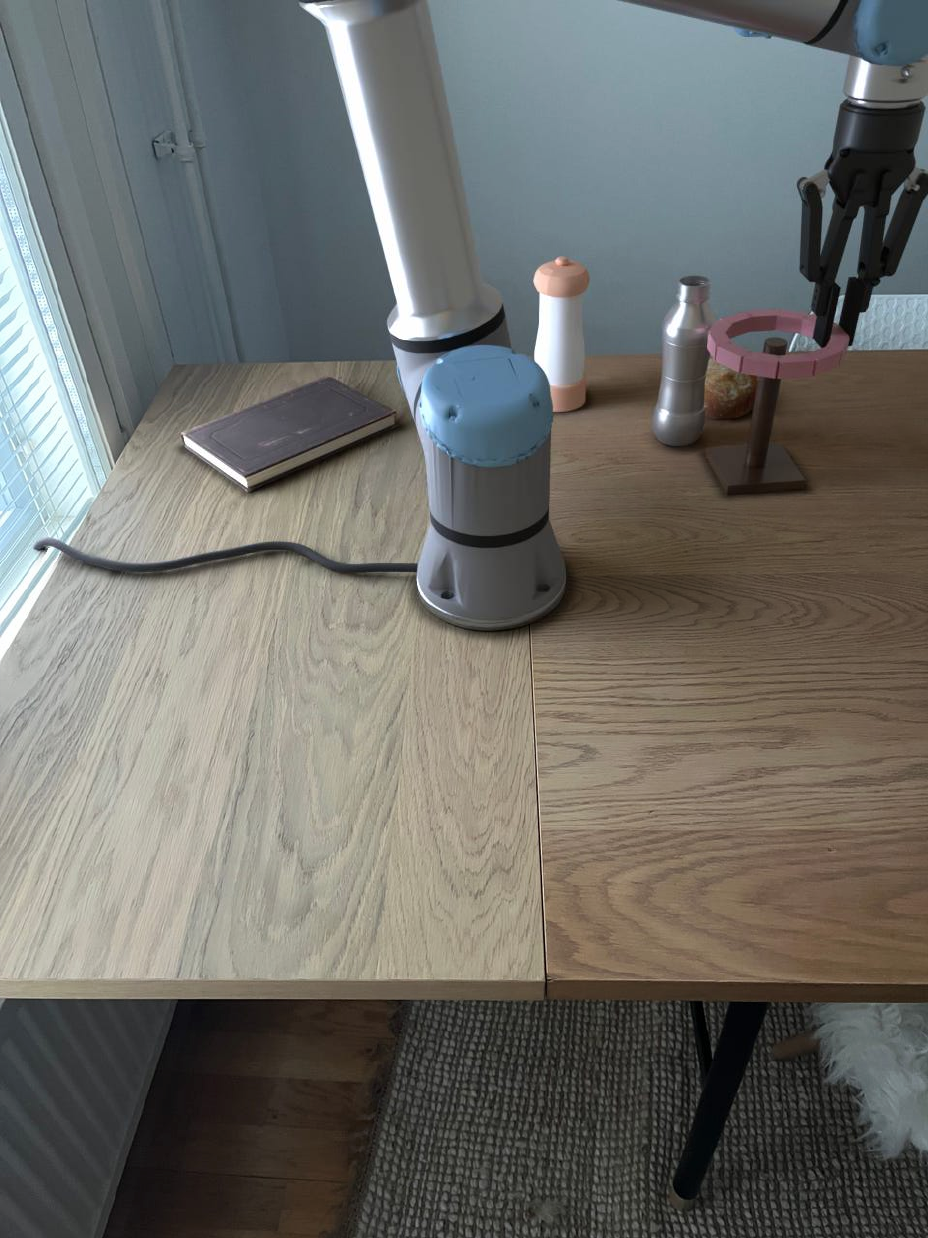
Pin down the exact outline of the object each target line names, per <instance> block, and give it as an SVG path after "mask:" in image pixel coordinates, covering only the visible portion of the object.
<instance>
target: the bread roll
mask: <svg viewBox="0 0 928 1238" xmlns="http://www.w3.org/2000/svg"><path fill="white" fill-rule="evenodd" d="M706 372H707V374H706V379H705V395H704V406H705V418H707V419H711V420H732V419H739V418H740V417H742V416H744V415H746V414H747V413H749V412H750V411H753V408H754V402H755V396H756V390H757V384H758V376H755V375H748V374H742V372H736V371H734V370H732V369H730V368H728V367H726V366H723V365H721V364H719V363H717V362H716V361H714V359H713V358H712V357H710V358H709V363H708V369H707V371H706Z"/></svg>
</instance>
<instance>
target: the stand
mask: <svg viewBox="0 0 928 1238" xmlns="http://www.w3.org/2000/svg"><path fill="white" fill-rule="evenodd" d="M788 344H789V343H788V340H786V339H785V338H782V337H777V336H773V337H768V338H766V339H765V340H764V343H763V349H762V353H765V354H772V355H787V348H788ZM757 380H758V384H757V390H756V396H755V402H754V407H753V409H752V414H751V420H750V426H749V432H748V439H747V444H734V445H721V446H720V445H719V446H707V447H706V451H705V457H706V459H707V461H708V462H709V464H710V466H711V468H712V470H713V472H714V474H715V476H716V477H717V479H718V481H719V484H720V485H721V486H722V488H723V490H724V492H725V494H726V495H727V496H728V495H741V494H753V493H755V494H756V493H767V492H779V491H780V492H783V491H794V490H795V491H796V490H805V489H804V488H805V484H806V479H805V477H804V475H803V474H802V472H801V471H800V470H799V469H798V467H797V465H796V464H795V462H794V461H793V459H792V458H791V457H790V455H789V453H788V452H787V451H786V449H785V447H784V446H783V445H782V444H781V442H780V441H776V442H775V441H774V442H771V441H770V440H771V436H772V431H773V425H774V419H775V414H776V409H777V403H778V397H779V392H780V387H781V381H782V379H778V378H777V377H776V378H775V379H773V378H767V377H761V376H758V377H757Z"/></svg>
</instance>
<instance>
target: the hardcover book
mask: <svg viewBox="0 0 928 1238" xmlns="http://www.w3.org/2000/svg"><path fill="white" fill-rule="evenodd" d="M395 415H397V410H395V409H393V408H391V407H390V406H387V405H385V404H383V403H381V402H379V401H378V400H376V399H374V398H373V397H370V396H368V395H366V394H365V393H364V392H361V391H359V390H356V389H355V388H353V387H351V386H349V385H347V384H345V383H344V382H341V381H340V380H338V379H336V378H334V377H332V376H330V375H325V376H323V377H320V378H318V379H316V380H313V381H310V382H307V383H304V384H303V385H300V386H297V387H294V388H292V389H290V390H287V391H284V392H282V393H279V394H277V395H275V396H272V397H269V398H267V399H264V400H261V401H259V402H256V403H253V404H252V405H248V406H246V407H243V408H240V409H238V410H236V411H233V412H230V413H227V414H225V415H223V416H220V417H218V418H214V419H213V420H210V421H208V422H205V423H202V424H199V425H197V426H194V427H192V428H190V429H187V430H184V431H181V433H180V439H181V442H182V445H183V446H184V448H186V450H188V451H189V452H190V453H192V454H193V455H194V456H196V457H198V458H199V459H201V461H203V462H204V463H206V464H207V465H209V466H210V467H212V468H213V469H215V471H217V472H219V473H220V474H221V475H223V476H224V477H226V478H227V479H228V480H230V481H231V482H233V483H234V484H235V485H236V486H238V487H239V488H241V489H242V490H244V491H245V492H247V493H250V492H252V491H255V490H257V489H259V488H261V487H264V486H266V485H267V484H270V483H273V482H275V481H277V480H280V479H282V478H284V477H287V476H289V475H291V474H293V473H295V472H297V471H300V470H302V469H305V468H307V467H309V466H311V465H313V464H316V463H318V462H321V461H323V460H325V459H327V458H329V457H332V456H335V455H337V454H338V453H340V452H343V451H345V450H348V449H350V448H353V447H354V446H357V445H359V444H361V443H364V442H365V441H368V440H370V439H373V438H375V437H377V436H379V435H382V434H384V433H386V432H388V431H391V430H393V429H395V428H398V427H399V424H397V423H395V419H396V417H394V416H395Z"/></svg>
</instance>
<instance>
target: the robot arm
mask: <svg viewBox="0 0 928 1238" xmlns="http://www.w3.org/2000/svg"><path fill="white" fill-rule="evenodd" d="M297 1H298V4H299V6H300V7H301V8H302V9H303V10H305V11H306V12H308V13H309V14H310V15H312V16H313V17H314V18H316V19H317V20H319V21H320V22H321V23H322V25H323V26H324V28H325V33H326V36H327V40H328V44H329V47H330V51H331V52H330V53H331V55H332V59H333V63H334V66H335V71H336V74H337V78H338V81H339V86H340V89H341V93H342V97H343V102H344V105H345V109H346V113H347V117H348V121H349V124H350V127H351V131H352V136H353V139H354V143H355V146H356V147H355V148H356V151H357V155H358V159H359V162H360V166H361V171H362V174H363V178H364V182H365V185H366V190H367V193H368V197H369V200H370V204H371V208H372V213H373V216H374V220H375V224H376V228H377V231H378V235H379V240H380V242H381V247H382V250H383V254H384V258H385V262H386V266H387V270H388V273H389V277H390V282H391V284H392V285H391V286H392V289H393V293H394V296H395V300H396V303H395V305H394V306H393V308H392V310H391V311H390V313H389V315H388V317H387V320H386V326H387V330H388V333H389V337H390V341H391V345H392V349H393V352H394V356H395V359H396V363H397V365H396V372H397V377H398V381H399V384H400V386H401V389H402V392H403V394H404V396H405V397H406V399H407V403H408V404H409V406H408V407H409V409H410V413H411V415H412V418H413V421H414V424H415V427H416V430H417V434H418V437H419V440H420V443H421V446H422V449H423V454H424V461H425V468H426V481H427V482H426V484H427V494H428V507H429V518H430V519H429V520H430V521H429V522H430V523H429V527H428V530H427V533H426V536H425V539H424V543H423V547H422V550H421V553H420V556H419V560H418V563H417V562H416V563H415V562H368V563H367V562H366V563H344V562H339V561H334V560H332V559H330V558H328V557H326V556H324V555H322V554H320V553H319V552H317V551H315V550H314V549H312V548H310V547H309V546H306V545H304V544H301V543H297V542H292V541H282V540H281V541H280V540H279V541H277V540H276V541H275V540H274V541H262V542H255V543H250V544H246V545H241V546H237V547H232V548H226V549H221V550H220V549H219V550H214V551H208V552H204V553H203V552H202V553H199V554H194V555H190V556H186V557H182V558H177V559H172V560H167V561H160V562H145V563H144V562H141V563H140V562H124V561H117V560H112V559H108V558H103V557H99V556H94V555H92V554H87V553H84V552H81V551H79V550H77V549H75V548H73V547H72V546H70V545H68V544H67V543H65V542H63V541H61V540H59V539H57V538H53V537H50V536H49V537H41V538H40V539H38V540H37V541H36V542H35V543H34V545H33V547H32V549H33V550H35V551H40V550H42V549H44V548H45V547H52V548H54V549H56V550H59V551H60V552H62V553H64V554H66V555H67V556H69V557H71V558H73V559H75V560H77V561H78V562H79V561H80V562H82V563H85V564H88V565H92V566H97V567H101V568H104V569H109V570H115V571H119V572H127V573H129V572H130V573H155V572H164V571H171V570H175V569H181V568H185V567H189V566H190V567H191V566H194V565H198V564H203V563H208V562H213V561H219V560H224V559H225V560H226V559H230V558H235V557H241V556H244V555H249V554H253V553H260V552H267V551H289V552H295V553H298V554H300V555H303V556H305V557H307V558H309V559H310V560H312V561H314V562H316V563H317V564H319V565H320V566H322V567H324V568H325V569H329V570H332V571H334V572H340V573H347V574H364V573H365V574H366V573H416V582H417V583H416V585H417V593H418V596H419V599H420V601H421V603H422V604H423V605H424V607H425V608H426V609H427V610H428V611H429V612H430V613H431V614H432V615H434V616H435V617H436V618H438V619H440V620H442V621H444V622H446V623H448V624H450V625H453V626H456V627H460V628H464V629H469V630H476V631H502V630H509V629H516V628H519V627H523V626H526V625H529V624H532V623H534V622H536V621H538V620H540V619H542V618H543V617H545V616H547V615H548V614H550V613H551V612H552V611H553V610H554V609H555V608H556V607H557V606H558V605H559V604H560V602H561V600H562V599H563V596H564V595H565V591H566V588H567V571H566V563H565V559H564V556H563V552H562V550H561V548H560V545H559V541H558V539H557V536H556V534H555V531H554V528H553V526H552V523H551V520H550V497H551V496H550V495H551V493H550V492H551V456H552V455H551V453H552V451H551V450H552V427H553V423H554V412H553V403H552V398H551V390H550V384H549V381H548V378H547V376H546V374H545V372H544V370H543V369H542V368H541V366H540V365H539V364H538V363H536V362H535V359H533V358H531V357H530V356H529V355H527V354H525V353H516V352H515V349H513V348H512V342H511V338H510V333H509V327H508V322H507V316H506V311H505V307H504V300H503V296H502V293H500V291H499V290H498V289H496V288H495V287H493V286H492V285H490V284H488V283H487V282H485V281H484V279H483V275H482V270H481V264H480V259H479V255H478V248H477V245H476V244H477V243H476V239H475V234H474V229H473V224H472V217H471V213H470V209H469V203H468V198H467V192H466V188H465V183H464V178H463V177H464V176H463V173H462V168H461V163H460V157H459V153H458V149H457V148H458V147H457V142H456V137H455V132H454V127H453V122H452V117H451V112H450V106H449V102H448V97H447V92H446V87H445V81H444V76H443V71H442V67H441V61H440V57H439V51H438V47H437V46H438V45H437V41H436V36H435V31H434V26H433V20H432V15H431V10H430V5H429V0H297ZM617 1H618V2H622V3H627V4H631V5H634V6H635V5H636V6H640V7H645V8H649V9H653V10H657V11H661V12H665V13H670V14H675V15H679V16H683V17H687V18H691V19H696V20H700V21H704V22H709V23H712V24H718V25H722V26H726V27H730V28H733V30H734V32H736V33H737V34H738V35H739V36H741V37H743V38H764V39H766V40H768V39H769V40H770V39H771V38H772V37H774V38H779V39H781V40H782V39H783V40H786V41H792V42H795V43H799V44H803V45H805V46H809V47H814V48H818V49H822V50H826V51H831V52H834V53H838V54H844V55H847V56H848V60H847V66H846V71H845V76H844V81H843V85H842V94H843V95H844V96H845V97H846V98H845V99H844V100H842V102H841V103H840V104H839V108H838V114H837V118H836V124H835V128H834V129H835V130H834V134H833V142H832V151H831V153H830V155H829V156H828V159H827V160H826V161H825V163H824V166H823V169H822V170H820V171H819V172H817V173H815V174H814V175H812V176H811V177H809V178H808V177H807V176H802V177H800V178H799V179H798V180H797V182H796V189H797V191H798V195H799V197H800V200H801V217H800V218H801V219H800V246H799V267H798V268H799V273H800V274H801V275H802V276H803V277H804V278H805V279H806V280H807V281H808V282H810V283H814V288H813V293H812V299H811V304H810V309H811V312H812V314H814V315H816V316H817V318H816V323H815V328H814V333H813V339H812V340H814V342H815V343H816V345H818V346H819V347H820V349H821V348H824V347H826V346H827V344H828V342H829V340H830V336H831V332H832V328H833V323H834V322H835V318H836V312H837V308H838V303H839V299H840V295H841V289H842V287H841V286H840V285H839V284H838V283H837V282H836V279H837V276H838V272H839V271H840V270H839V269H840V266H841V262H842V260H843V256H844V252H845V249H846V246H847V243H848V239H849V235H850V233H851V229H852V226H853V223H854V220H855V219H856V218H857V217H858V215H859V212H860V208H861V207H863V211H864V213H863V221H862V227H861V235H860V245H859V252H858V259H857V267H856V268H857V269H856V274H857V276H848V279H847V282H846V288H845V292H844V297H843V302H842V305H841V309H840V310H841V311H840V315H839V320H838V324H839V325H840V327H841V328H842V329H843V330H844V331H845V332H846V333H847V335H848V336H849V338H850V339H849V344H848V347H853V345H854V340H855V335H856V332H857V327H858V322H859V318H860V314H863V313H866V312H867V311H868V309H869V307H870V302H871V298H872V295H873V291H874V288H875V287H877V286H878V285H880V284H881V281H882V280H881V279H882V278H884V277H887V278H889V277H890V278H891V277H892V276H894V275H895V274H896V272H897V270H898V268H899V265H900V262H901V259H902V257H903V254H904V251H905V250H906V246H907V244H908V242H909V239H910V237H911V234H912V231H913V228H914V226H915V223H916V221H917V219H918V216H919V212H920V210H921V208H922V205H923V203H924V201H925V199H926V198H927V196H928V171H927V170H925V169H924V168H919V167H917V166H916V164H917V161H916V156H915V147H916V145H917V143H918V141H919V138H920V134H921V129H922V125H923V121H924V117H925V113H926V109H927V108H926V106H925V102H923V101H922V100H923V99H924V98H926V97H927V96H928V0H617ZM828 184H829V186H830V188H831V190H832V192H833V194H834V198H833V202H832V205H831V210H832V213H831V217H830V219H829V224H828V226H827V231H826V235H825V237H824V241H823V244H822V231H823V213H824V211H823V209H824V206H823V198H825V196H826V192H827V190H826V189H827V186H828ZM902 185H903V189H902V191H901V193H900V195H899V198H898V200H897V202H896V206H895V209H894V210H893V214H892V216H891V219H890V222H889V225H888V227H887V230H885V229H886V222H887V216H889V214H890V209H891V204H892V203H891V202H892V196H893V195H894V194H895V193H896V192H897V190H898V189H899V188H900V187H901V186H902ZM885 231H886V233H885ZM821 247H822V248H821Z"/></svg>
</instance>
